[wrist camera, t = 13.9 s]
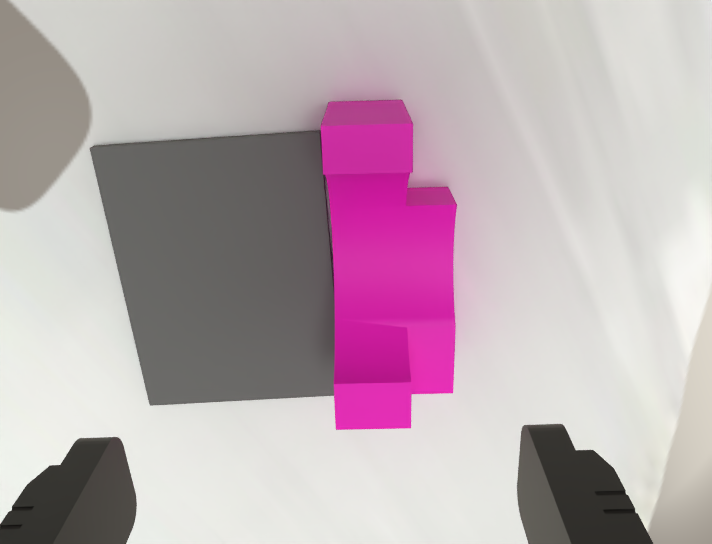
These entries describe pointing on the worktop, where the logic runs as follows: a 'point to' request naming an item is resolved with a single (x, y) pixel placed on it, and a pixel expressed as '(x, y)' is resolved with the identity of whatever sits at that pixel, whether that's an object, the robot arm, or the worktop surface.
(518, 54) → the worktop surface
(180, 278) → the rubber mat
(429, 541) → the worktop surface
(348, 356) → the magenta pipe clamp
